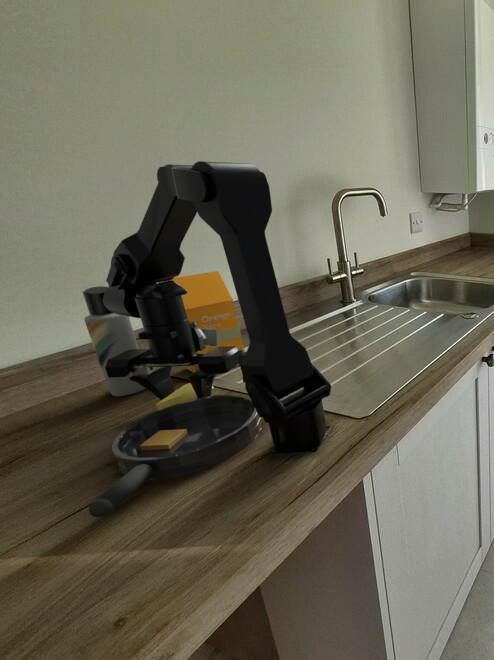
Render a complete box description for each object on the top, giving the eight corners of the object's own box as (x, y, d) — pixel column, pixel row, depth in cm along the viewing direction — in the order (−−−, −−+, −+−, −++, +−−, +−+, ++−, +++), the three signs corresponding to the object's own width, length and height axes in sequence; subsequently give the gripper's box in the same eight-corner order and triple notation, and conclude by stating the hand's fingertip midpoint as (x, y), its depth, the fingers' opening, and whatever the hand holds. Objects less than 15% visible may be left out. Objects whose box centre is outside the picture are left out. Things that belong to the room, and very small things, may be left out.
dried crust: (188, 433, 63) (186, 429, 63) (169, 449, 59) (167, 444, 59) (160, 434, 63) (159, 430, 63) (140, 450, 59) (138, 446, 59)
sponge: (193, 398, 75) (184, 384, 74) (216, 390, 75) (206, 376, 74) (166, 419, 68) (154, 404, 67) (190, 410, 68) (179, 395, 67)
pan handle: (159, 474, 53) (154, 460, 52) (107, 521, 46) (101, 505, 45) (141, 475, 53) (136, 461, 52) (86, 522, 46) (79, 506, 45)
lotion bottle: (146, 379, 82) (115, 282, 76) (153, 388, 78) (121, 287, 72) (108, 390, 78) (71, 288, 71) (113, 400, 74) (76, 293, 68)
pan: (282, 410, 70) (278, 392, 69) (222, 478, 54) (216, 456, 53) (177, 415, 69) (171, 396, 68) (84, 486, 53) (74, 463, 52)
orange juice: (186, 368, 87) (159, 276, 80) (231, 354, 94) (210, 269, 87) (201, 377, 83) (175, 281, 76) (248, 362, 90) (227, 273, 83)
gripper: (251, 306, 75) (268, 382, 80) (144, 308, 74) (167, 386, 78) (213, 326, 64) (235, 412, 69) (87, 329, 63) (118, 417, 68)
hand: (190, 405), depth 71 cm, fingers closed on sponge, 5 cm apart
